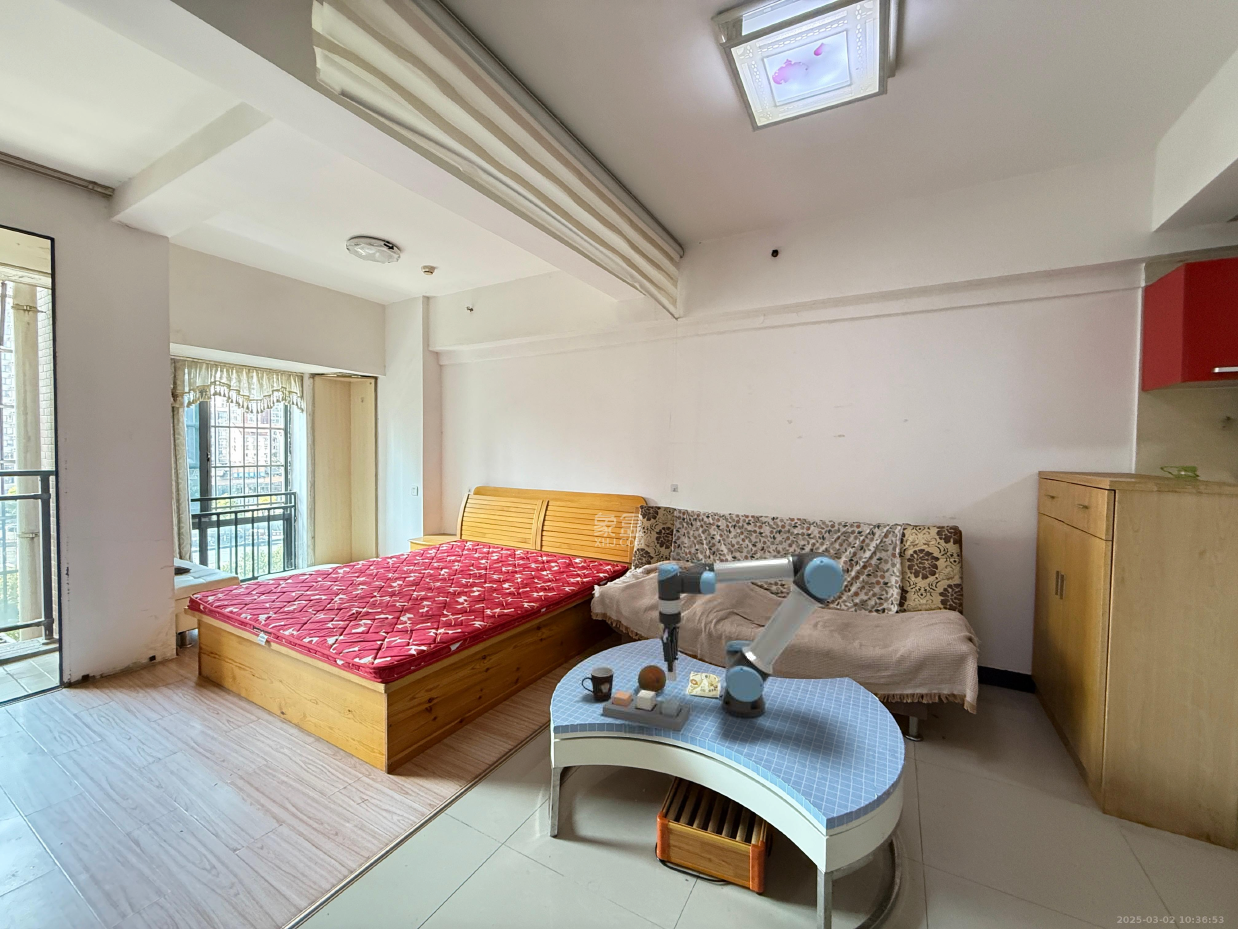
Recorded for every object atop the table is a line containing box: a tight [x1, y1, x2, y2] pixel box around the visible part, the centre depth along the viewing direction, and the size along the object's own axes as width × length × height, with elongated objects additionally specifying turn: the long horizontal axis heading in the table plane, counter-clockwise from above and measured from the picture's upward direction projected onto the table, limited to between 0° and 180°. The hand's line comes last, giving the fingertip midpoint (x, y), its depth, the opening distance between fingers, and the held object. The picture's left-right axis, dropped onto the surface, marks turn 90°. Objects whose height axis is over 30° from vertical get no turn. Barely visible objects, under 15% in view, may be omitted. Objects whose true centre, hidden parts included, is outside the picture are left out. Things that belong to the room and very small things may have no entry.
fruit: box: [637, 664, 667, 694], centre depth 193 cm, size 12×13×10 cm
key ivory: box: [636, 689, 657, 711], centre depth 175 cm, size 5×5×4 cm
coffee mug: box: [581, 666, 615, 703], centre depth 188 cm, size 12×9×10 cm
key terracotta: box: [612, 690, 633, 707], centre depth 178 cm, size 5×5×4 cm
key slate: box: [662, 699, 681, 717], centre depth 171 cm, size 5×5×4 cm
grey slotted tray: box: [602, 691, 691, 732], centre depth 175 cm, size 28×12×3 cm, turn 66°
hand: (671, 680), depth 171 cm, fingers closed
